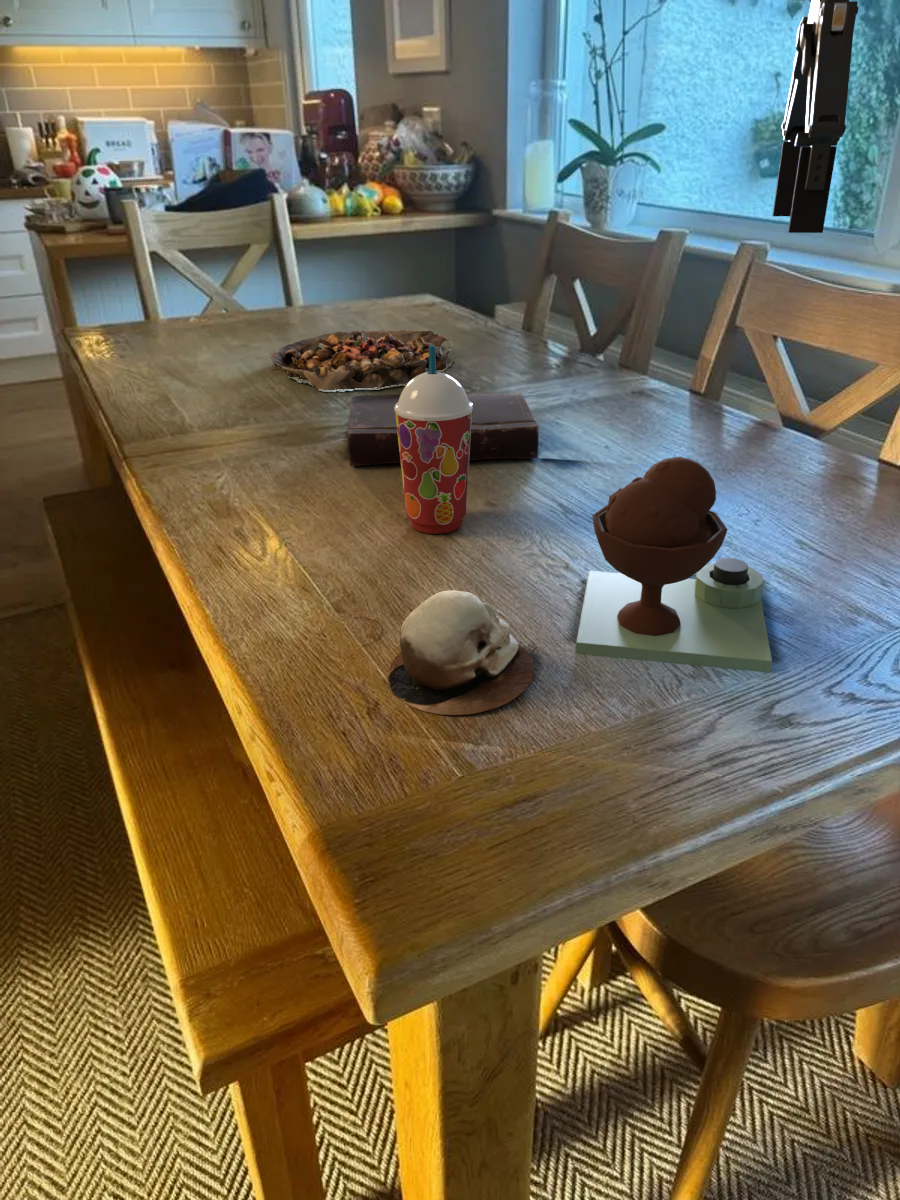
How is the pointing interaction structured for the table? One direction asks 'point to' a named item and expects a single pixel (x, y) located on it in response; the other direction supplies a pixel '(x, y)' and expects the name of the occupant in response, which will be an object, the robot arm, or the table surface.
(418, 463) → the smoothie
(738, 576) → the button
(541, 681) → the table surface
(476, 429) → the diary
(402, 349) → the food dish
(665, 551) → the ice cream bowl
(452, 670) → the skull
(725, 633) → the scale
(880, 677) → the table surface
